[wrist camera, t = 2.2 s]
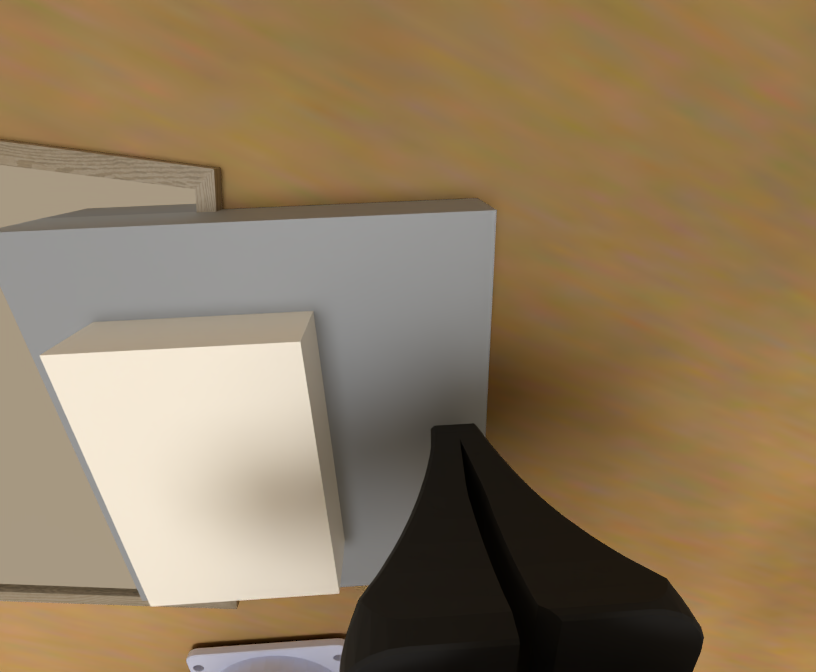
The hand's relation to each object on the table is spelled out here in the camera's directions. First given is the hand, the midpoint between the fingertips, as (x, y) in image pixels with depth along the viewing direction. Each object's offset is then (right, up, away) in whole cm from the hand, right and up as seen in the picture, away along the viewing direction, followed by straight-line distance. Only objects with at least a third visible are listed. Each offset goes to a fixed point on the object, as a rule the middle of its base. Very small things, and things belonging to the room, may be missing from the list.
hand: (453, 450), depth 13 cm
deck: (-6, +1, +3) cm, 6 cm away
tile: (-7, 0, +1) cm, 7 cm away
